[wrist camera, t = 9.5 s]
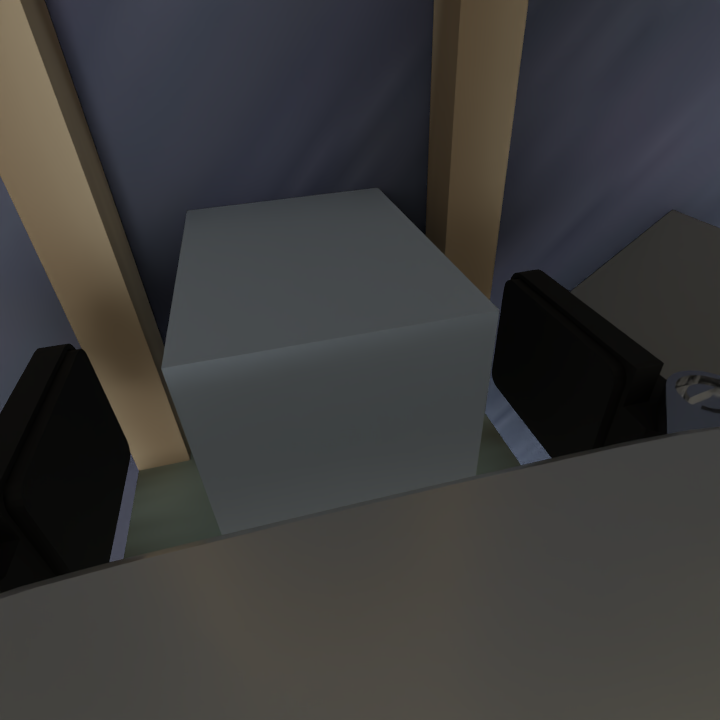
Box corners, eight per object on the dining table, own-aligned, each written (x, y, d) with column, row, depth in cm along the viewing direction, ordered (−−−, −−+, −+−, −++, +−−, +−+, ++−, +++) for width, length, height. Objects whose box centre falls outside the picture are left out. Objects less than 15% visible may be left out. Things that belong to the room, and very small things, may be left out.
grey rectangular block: (377, 187, 13) (499, 310, 7) (381, 341, 16) (470, 512, 10) (187, 210, 12) (160, 368, 6) (228, 368, 15) (234, 571, 9)
